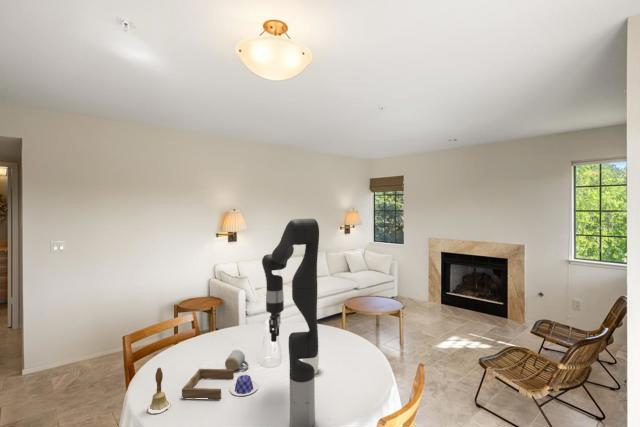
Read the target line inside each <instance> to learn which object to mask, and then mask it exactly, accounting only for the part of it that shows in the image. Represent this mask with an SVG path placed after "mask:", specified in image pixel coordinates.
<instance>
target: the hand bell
mask: <svg viewBox="0 0 640 427" xmlns="http://www.w3.org/2000/svg"><path fill="white" fill-rule="evenodd" d="M155 372H156V373H155V382H156V392H155V393H154V394H153V395H152V398H151V399H152V400H151V403H150V405H149V406H150V409H152V410H161V409H163V408H165V407H167V406H168V405H169V403H170V402H169V401H168V400H167V398H166V393H165V392H164V391H162V381H163V378H164V375H163V374H164V373H163V370H162V368H161V367H157V368H156V371H155Z"/></svg>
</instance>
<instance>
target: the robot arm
mask: <svg viewBox="0 0 640 427" xmlns="http://www.w3.org/2000/svg"><path fill="white" fill-rule="evenodd" d="M319 241H320V228H319V222H318V221H317V220H316V219H315V218H294V219H291V220H289V221H288V223H287V225H286V227H285V228H284V231H283V233H282V236H281V237H280V241H279V243H278V244H277V245H276V247H275V248H274V249H273V251H272V253H271V254H270V253H268V254H265V255H264V256H263V257H262V260H261V265H262V268H263V272H264V276H265V280H266V281H265V282H266V292H265V296H266V297H265V309H266V310H265V311H266V312H267V313H270V315H269V320H268V325H269V326H268V327H269V328H268V329H269V334H270V341H271V342H272V343H276V342H277V339H278V338H277V337H279V335H280V327H281V325H280V324H281V314H282V312H284V308H285V305H284V302H285V301H284V299H285V298H284V295H285V294H284V280H283V279H284V278H283V276H281V275H280V274H274V273H273V271H281V270H284V269H285V268H287V263H288V261H289V259H290V258H291V257H292V256H293V254H294V251H295V250H294V249H295V248H294V246H295V245H296V246H301V245H305V248H304V255H303V257H302V260H301V262H300V263H299V266H298V268H297V269H296V271H295V272H294V275H293V277H292V281H291V297H292V298H291V299H292V301H293V302H294V305H295V307H296V308H297V309H298V311H299V312H300V314H302V316H303V318H304V320H305V322H306V324H307V326H308V331H295V332H291V333H290V334H289V336H288V354H289V355H288V356H289V357H288V358H289V425H290V426H291V427H314V425H315V423H316V410H315V409H316V405H315V404H316V403H315V401H316V398H315V397H316V395H315V392H316V391H315V388H316V384H315V375H316V374H315V371H314V367H313V366H312V365H310V364H308V363H305V362H303V359H308V358H315V357H316V356H317V354H318V350H319V334H318V333H319V332H318V330H319V329H318V317H317V316H318V255H319V254H318V252H319V244H320V243H319Z"/></svg>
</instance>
